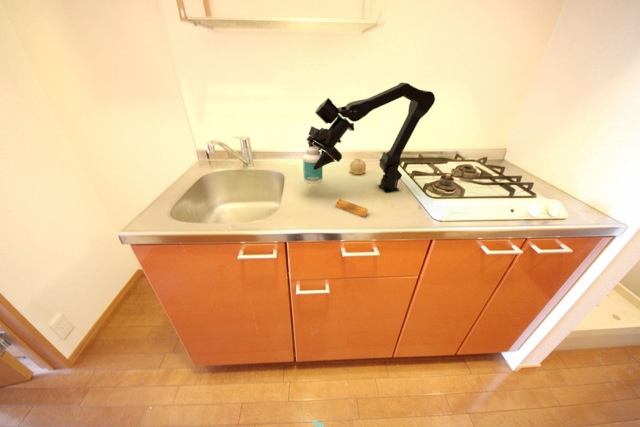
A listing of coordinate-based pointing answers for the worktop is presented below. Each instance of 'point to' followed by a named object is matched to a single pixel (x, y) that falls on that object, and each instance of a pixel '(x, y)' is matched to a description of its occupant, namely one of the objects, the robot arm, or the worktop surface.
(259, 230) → the worktop surface
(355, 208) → the fry stick
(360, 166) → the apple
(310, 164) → the pill bottle
